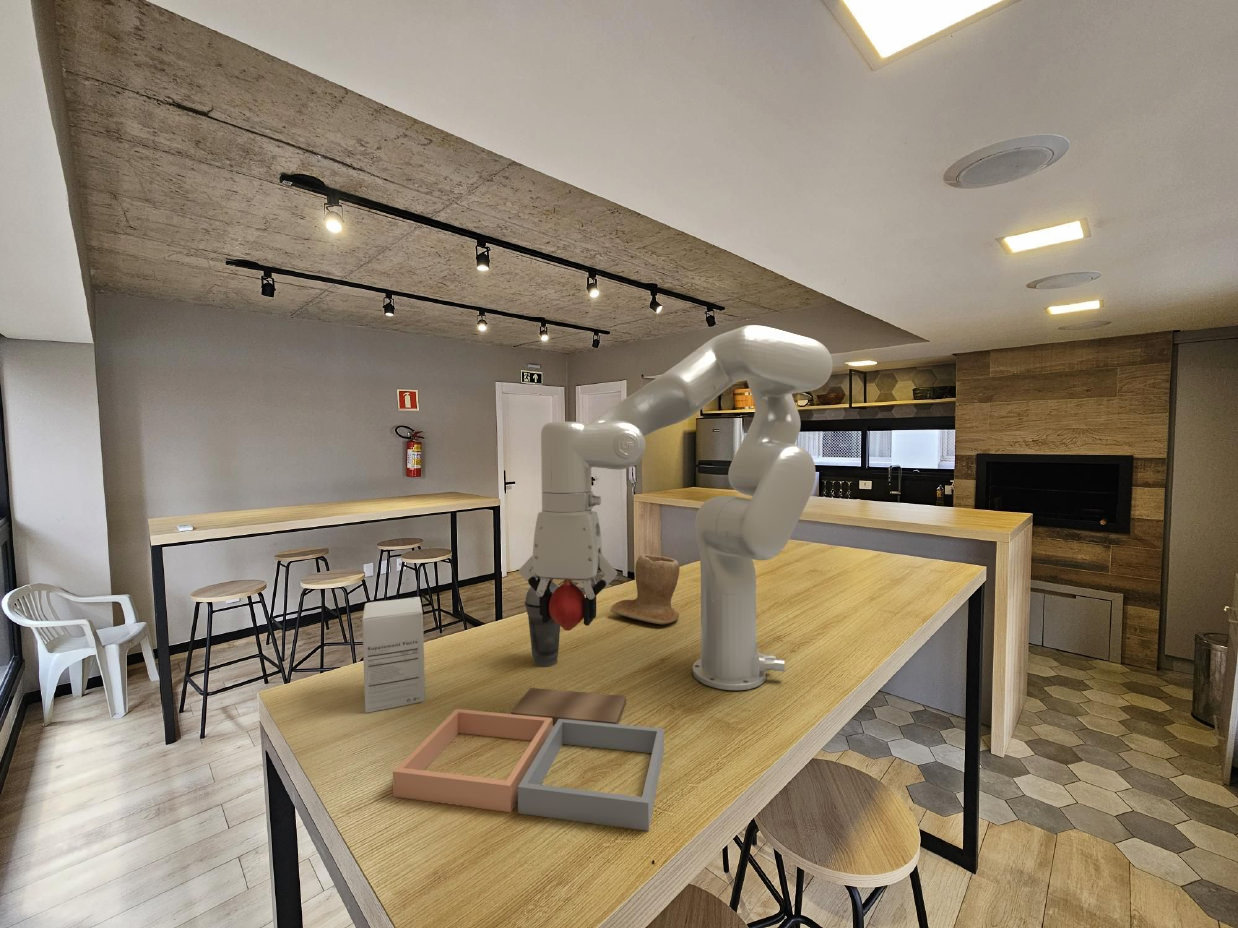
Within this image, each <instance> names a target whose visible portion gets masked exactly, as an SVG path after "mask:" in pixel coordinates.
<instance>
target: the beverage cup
mask: <svg viewBox="0 0 1238 928" xmlns="http://www.w3.org/2000/svg"><path fill="white" fill-rule="evenodd" d="M539 578H540V577H539ZM540 579H541V578H540ZM558 587H559V586H558V584H557V583H556V582H554V581H552V584H551V587H550V592H552V593H553V592H554V591H555V590H556V589H557V588H558ZM524 605H525V609H526V613H527V619H528V627H529V636H530V647H531V656H532V661H533V665H534V666H537V667H541V668H547V667H551V666H554V665H556V664H557V663H558V656H559V649H560V648H559V647H560V635H561V633H560V632H561V631H560V630H561V626H560V625H559V624H557V623H556V622H555V621H554V620H553V619H552V618H551V619H550V620H549V621H548V622H547V623H542V615H540V604H539V596H537V594H536V591H535V590H534V589H533V588H532V587H531V586H529V588H528V589H527V591H526V595H525V600H524Z"/></svg>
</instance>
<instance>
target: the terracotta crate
mask: <svg viewBox="0 0 1238 928" xmlns="http://www.w3.org/2000/svg"><path fill="white" fill-rule="evenodd" d="M553 727H554V726H553V718H546V717H535V716H525V715H514V714H511V713H501V712H493V711H492V712H491V711H480V710H472V709H471V710H469V709H462V708H461V709H459V708H455V709H454V710H453V711H452V712H451V713H450V714H449V715H448V716H447V717H446V718H445V719H444V720H443V721H442V722H441V723H440V724H439V725H438V726H437V727H436V728H435V729H434V730H433V731H432V732H431V733H430V734H429V735H428V736H427V737H425V739H423V741H422V742H421V743H419V745H418V746H417V747H416V748H415V749H414V750H413V751H412V752H411V753H410V754H408V756H406V758H405V759H404V760H403V761H402V762H400V764H398V766H396V768H394V769H393V770H392V789H393V792H392V793H393V794H392V796H393V798H394V797H395V798H401V799H402V798H403V799H408V800H409V799H410V800H416V801H417V800H418V801H424V802H430V801H433V802H432V803H438V802H441V803H440V804H445V803H451V804H450V805H453V804H458V805H457V806H460V805H463V806H462V807H468V806H471V807H470V808H476V809H482V810H491V811H496V812H497V811H499V812H506V813H512V811H513V810H514V808H515V806H516V804H517V803H518V786H519V784H520V782H521V781H522V779H523V777H524V776H525V774H526V772H527V771H528V769H529V767H530V766H531V764H532V762H533V761H534V759H535V757H536V756H537V754H538V752H539V751H540V749H541V747H542V746H543V744H544V742H545V741H546V739H547V737H548V736H549V734H550V732H551V731H552V729H553ZM458 734H466V735H473V736H474V735H475V736H476V735H477V736H483V737H494V738H504V739H513V740H524V741H530V743H529V745H528V746H527V747H526V749H525V751H524V752H523V754H522V756H521V758H519V760H518V762H517V763H516V765H515V767H514V768H513V770H512V771H511V773H510V774H509V776H508V777H507V778H506V780H503V779H496V778H488V777H481V776H471V775H464V774H456V773H447V772H439V771H431V770H427V769H428V767H429V766H430V765H431V764H432V763H433V761H434V760H436V759H437V757H438V756H439V755H440V754H441V753H442V752H443V751H444V749H446V748H447V746H448V745H449V744H450V743H451V742H452V741H453V740H454V739H455V738H456V737H457V735H458ZM442 802H443V803H442ZM464 805H465V806H464Z"/></svg>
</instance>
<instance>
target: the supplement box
mask: <svg viewBox="0 0 1238 928" xmlns="http://www.w3.org/2000/svg"><path fill="white" fill-rule="evenodd" d="M423 613H424V612H423V607H422V602H421V597H420V596H414V597H407V598H406V597H405V598H399V599H398V598H397V599H391V600H379V601H371V602H367V603H365V604H364V607H363V614H362V620H361V621H362V626H361V627H362V651H363V652H362V653H363V654H362V655H363V656H362V657H363V658H362V659H363V680H364V681H363V683H364V685H363V686H364V687H363V688H364V689H363V690H364V707H365V709H364V712H365V714H369V713H372V712H378V711H384V710H388V709H389V710H390V709H394V708H398V707H402V706H403V707H404V706H409V705H413V704H418V703H424V702H425V701H426V687H425V686H426V684H425V650H424V649H425V648H424V647H425V645H424V642H425V641H424V616H423V615H424V614H423Z"/></svg>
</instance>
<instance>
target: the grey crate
mask: <svg viewBox="0 0 1238 928" xmlns="http://www.w3.org/2000/svg"><path fill="white" fill-rule="evenodd" d="M563 745H571V746H578V747H579V746H581V747H589V748H599V749H600V748H601V749H608V750H609V749H610V750H617V751H627V752H628V751H629V752H637V753H648V754H651V757H650V760H649V765H648V769H647V774H646V778H645V782H644V787H643V790H642V791H643V792H642V795H641V796H636V795H627V794H622V793H621V794H619V793H611V792H604V791H603V792H602V791H595V790H588V789H578V788H573V787H572V788H570V787H562V786H555V785H546V784H542V783H543V781H544V780H545V778H546V776H547V774H548V773H549V771H550V769H551V767H552V765H553V763H554V761H555V760H556V757H557V756H558V753H559V752H560V750H561V749H562V746H563ZM664 752H665V729H664V728H663V727H662V728H660V727H650V726H649V727H648V726H640V725H639V726H638V725H637V726H636V725H629V724H609V723H598V722H588V721H577V720H567V719H558V721H557V722H556V724H555V725H554V726H553V729H552V731H551V732H550V734H549V736H548V737H547V739H546V741H545V742H544V744H543V746H542V747H541V749H540V751H539V752H538V754H537V756H536V757H535V759H534V761H533V762H532V764H531V766H530V767H529V769H528V771H527V772H526V774H525V776H524V777H523V779H522V781H521V782H520V784H519V786H518V801H517V811H518V814H521V815H528V816H537V817H545V818H551V819H558V820H565V821H572V822H573V821H574V822H580V823H581V822H582V823H589V824H595V825H601V826H602V825H603V826H611V827H617V828H626V829H632V830H641V831H645V832H646V831H647V832H649V831H650V825H651V820H652V816H653V810H654V805H655V799H656V795H657V790H658V784H659V780H660V774H661V768H662V763H663V758H664Z"/></svg>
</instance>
